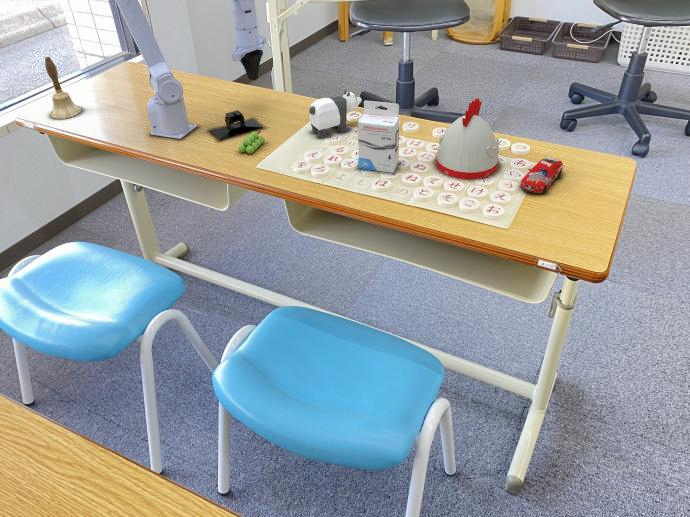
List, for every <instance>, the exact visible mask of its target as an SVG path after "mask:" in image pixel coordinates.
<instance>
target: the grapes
mask: <svg viewBox="0 0 690 517" xmlns="http://www.w3.org/2000/svg"><path fill="white" fill-rule="evenodd" d="M260 133H262V131H261V130H258V131H252V132H250V134H248V135H247V136H246V137H244V138H243V140H242V143H241V144H239V146H238V147H237V150H238V151H239V152H240V153H241V154H242V153H247V154H249V155H251V154H253V153H254V152H255V151H257V149H258V148H259V147H261V146H262V144H264V143H265V138H264V136H262V135H260Z"/></svg>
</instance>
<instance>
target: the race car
mask: <svg viewBox="0 0 690 517" xmlns="http://www.w3.org/2000/svg"><path fill="white" fill-rule="evenodd" d="M563 169H564V162H563V161H562V160H560V159H558V158H554V157H551V156H548V157H543V158H542V159H540V160H539V161H538V162H537V163H536V164H535V165H534V166H532V168H528V169H527V171H528V172H527V173H526V174H525V176H523V177H522V179H521V181H520V188H521V189H522V190H524V191H526V192H528V193H531V194H532V193H533V194H545V193H546V190H548V188H550V186H552V185H553V183H555V181H556V180H558V179H560V177H561V175H562V173H563Z"/></svg>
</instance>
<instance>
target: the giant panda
mask: <svg viewBox="0 0 690 517" xmlns="http://www.w3.org/2000/svg"><path fill="white" fill-rule="evenodd" d="M362 101H363V99H362V97H359V96H356V95H355V94H354V93H353V92H351V91H347V89H344V91H343V95H342V96H340V95H339V96H331V97H322V98H318V99H316V100H313V102H312V103H311V104H309V110H308V113H309V114H308V117H309V122H310V126H311V130H312V133H313V134H317V136H318V138H320V139H321V138H326V137H328V136H329V135H328V133H327V132H326V129H329V128H338V132H339V133H345V132H348V131H349V128H348V127H347V114H348V113H350V112H353V111H354V110H356V109H357V108H358V106H359V105H360V104H361V103H362Z"/></svg>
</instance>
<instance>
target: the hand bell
mask: <svg viewBox="0 0 690 517" xmlns="http://www.w3.org/2000/svg"><path fill="white" fill-rule="evenodd" d="M44 67H45V71H46V73H47V75H48V76H49V78H50V79H51V81H52V84H53V87H54V91H55V93H54V94H52V96H51V99H52V104H53V105H52V106H53V107H52V110H51V111H50V117H51V118H53V119H56V120H66V119H70V118H73V117H76V116H78V115H79V114H81V113H82V108H81V106H78V105H77V104H75V103H74V101H73V99H72V98H71V95H70V94H69V92H67V91H63V89H62V86H61V84H60V81H59V73H58V70H57V69H58V68H57V66H56V64H55V62H54V61H53V60H52V59H51V56H45V57H44Z"/></svg>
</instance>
